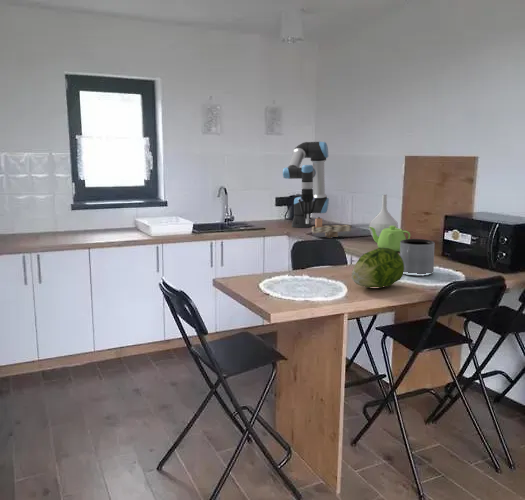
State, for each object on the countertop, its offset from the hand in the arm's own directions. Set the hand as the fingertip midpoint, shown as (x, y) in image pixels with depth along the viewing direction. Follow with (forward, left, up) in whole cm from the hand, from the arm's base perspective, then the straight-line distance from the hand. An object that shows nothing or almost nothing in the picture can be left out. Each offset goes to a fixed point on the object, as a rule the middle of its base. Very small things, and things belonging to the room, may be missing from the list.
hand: (307, 223), depth 350 cm
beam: (0, +17, -10) cm, 20 cm away
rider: (0, +8, -4) cm, 9 cm away
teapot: (+51, +36, -10) cm, 63 cm away
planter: (+109, +24, -10) cm, 112 cm away
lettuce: (+129, -5, -10) cm, 130 cm away
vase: (+22, +45, -10) cm, 51 cm away
